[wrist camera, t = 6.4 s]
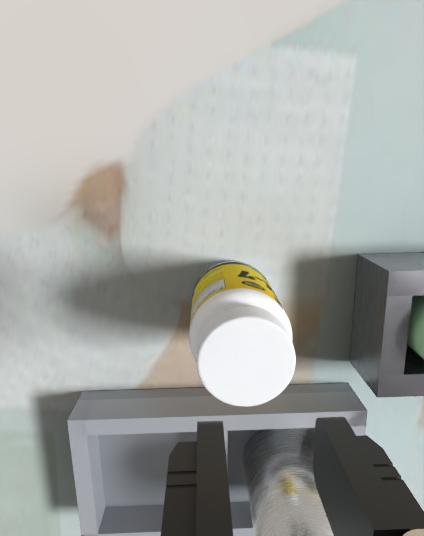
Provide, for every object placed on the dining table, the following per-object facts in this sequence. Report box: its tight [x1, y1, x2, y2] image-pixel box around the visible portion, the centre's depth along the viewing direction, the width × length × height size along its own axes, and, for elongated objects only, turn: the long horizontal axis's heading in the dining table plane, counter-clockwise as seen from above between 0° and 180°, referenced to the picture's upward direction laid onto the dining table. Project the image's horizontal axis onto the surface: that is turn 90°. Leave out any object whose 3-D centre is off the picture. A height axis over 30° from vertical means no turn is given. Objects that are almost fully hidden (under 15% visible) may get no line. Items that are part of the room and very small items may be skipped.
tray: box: [67, 383, 367, 536], centre depth 25 cm, size 17×9×3 cm, turn 91°
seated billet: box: [243, 428, 334, 536], centre depth 22 cm, size 5×5×8 cm
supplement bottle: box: [189, 261, 296, 407], centre depth 20 cm, size 5×5×8 cm
